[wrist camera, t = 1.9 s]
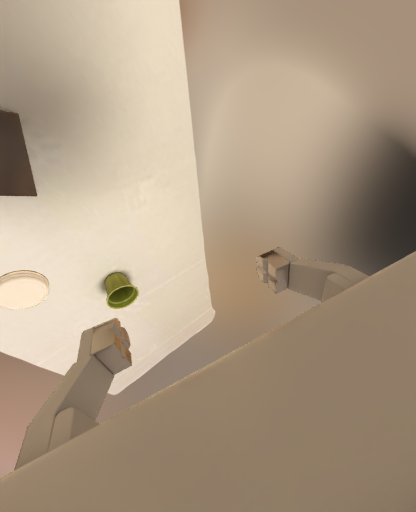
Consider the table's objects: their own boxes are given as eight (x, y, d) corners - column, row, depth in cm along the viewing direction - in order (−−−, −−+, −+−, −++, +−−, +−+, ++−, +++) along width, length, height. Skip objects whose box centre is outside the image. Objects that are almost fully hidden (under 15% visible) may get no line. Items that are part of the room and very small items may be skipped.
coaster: (30, 263, 47) (30, 272, 45) (56, 287, 54) (58, 295, 52) (-21, 284, 43) (-23, 295, 41) (15, 306, 50) (14, 317, 48)
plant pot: (134, 271, 67) (144, 287, 62) (121, 292, 69) (129, 309, 63) (108, 265, 60) (116, 283, 54) (93, 288, 61) (100, 308, 56)
